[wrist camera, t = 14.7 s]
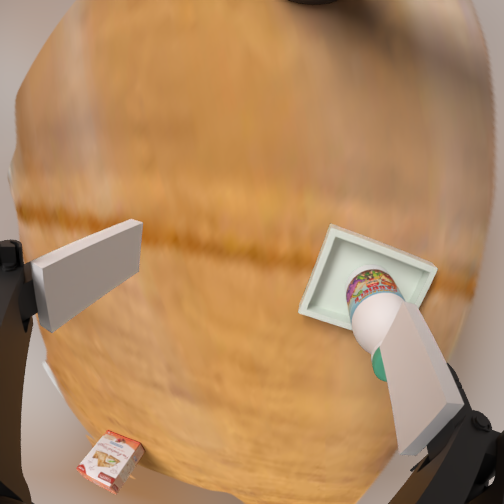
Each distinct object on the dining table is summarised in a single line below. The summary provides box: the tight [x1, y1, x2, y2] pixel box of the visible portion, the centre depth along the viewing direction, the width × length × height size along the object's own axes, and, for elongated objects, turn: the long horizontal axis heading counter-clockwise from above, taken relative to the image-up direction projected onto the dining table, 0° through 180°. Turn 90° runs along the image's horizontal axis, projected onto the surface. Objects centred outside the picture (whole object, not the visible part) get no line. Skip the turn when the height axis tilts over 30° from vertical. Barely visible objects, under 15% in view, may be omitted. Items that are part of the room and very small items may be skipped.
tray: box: [298, 223, 438, 331], centre depth 42 cm, size 14×18×3 cm
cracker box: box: [77, 430, 145, 494], centre depth 64 cm, size 14×6×21 cm, turn 92°
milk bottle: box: [345, 264, 406, 382], centre depth 33 cm, size 8×8×20 cm
